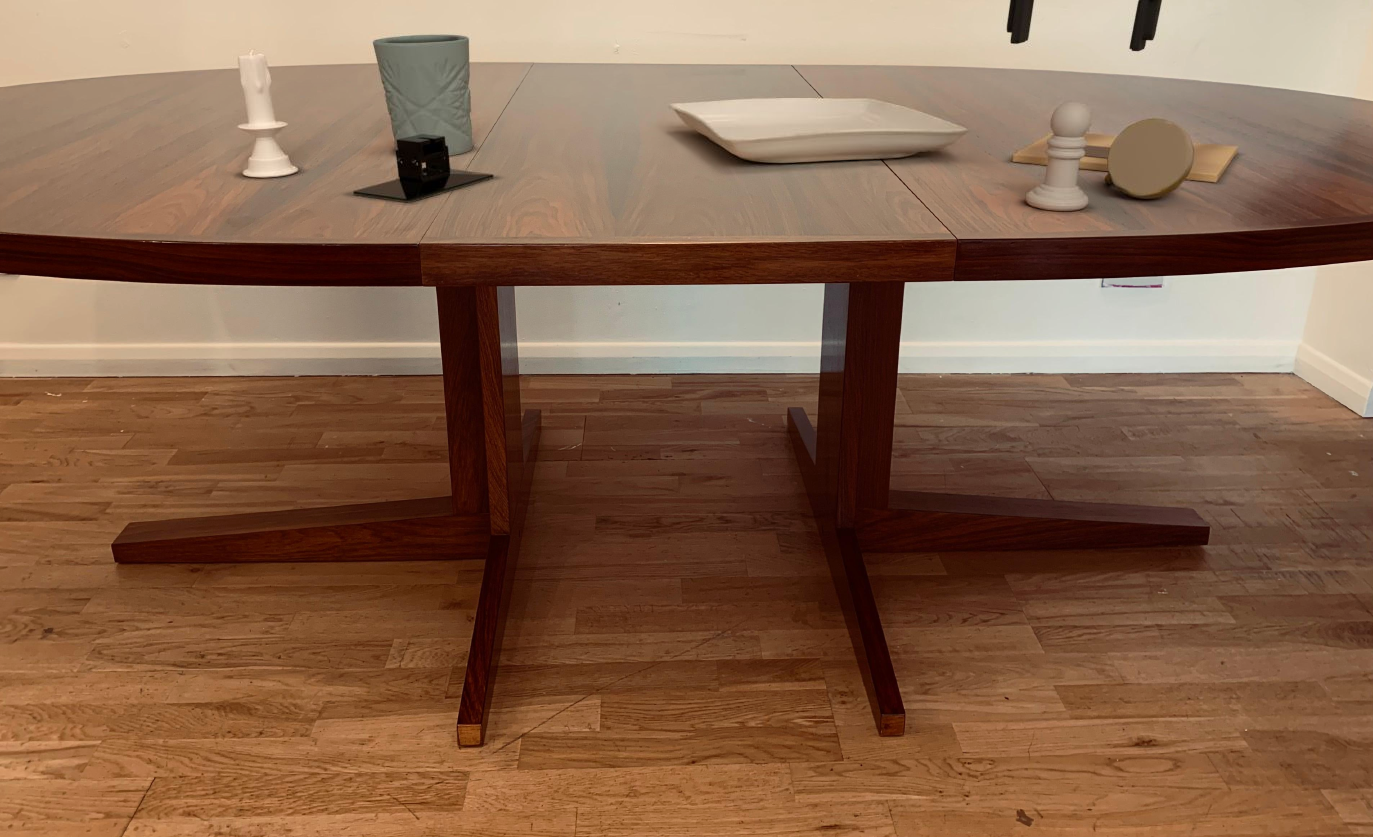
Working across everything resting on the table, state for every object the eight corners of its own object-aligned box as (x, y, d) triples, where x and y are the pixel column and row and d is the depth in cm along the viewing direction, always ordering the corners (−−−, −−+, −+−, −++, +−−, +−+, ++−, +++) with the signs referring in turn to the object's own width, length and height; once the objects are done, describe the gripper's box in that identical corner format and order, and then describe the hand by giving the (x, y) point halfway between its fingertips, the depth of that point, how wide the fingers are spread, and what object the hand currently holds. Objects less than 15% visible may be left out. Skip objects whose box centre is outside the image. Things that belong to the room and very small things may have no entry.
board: (1236, 153, 113) (1238, 145, 113) (1216, 182, 99) (1218, 173, 99) (1053, 137, 123) (1055, 129, 122) (1012, 161, 109) (1013, 153, 109)
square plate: (970, 162, 109) (974, 125, 107) (725, 174, 103) (725, 135, 101) (869, 123, 133) (872, 92, 131) (666, 131, 127) (666, 99, 125)
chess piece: (1096, 204, 91) (1114, 100, 87) (1072, 215, 87) (1090, 107, 84) (1040, 195, 94) (1055, 95, 90) (1014, 205, 91) (1029, 101, 87)
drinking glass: (496, 149, 116) (487, 37, 111) (423, 162, 109) (410, 43, 104) (441, 139, 122) (430, 32, 117) (368, 151, 115) (353, 38, 110)
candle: (300, 166, 107) (281, 45, 102) (295, 176, 102) (275, 50, 97) (247, 168, 106) (224, 47, 101) (239, 179, 101) (215, 52, 96)
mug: (1196, 187, 98) (1231, 102, 90) (1151, 248, 94) (1183, 165, 86) (1123, 159, 101) (1150, 75, 93) (1076, 217, 98) (1100, 134, 89)
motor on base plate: (409, 204, 92) (402, 152, 90) (350, 195, 95) (342, 145, 93) (494, 177, 102) (490, 130, 100) (438, 170, 105) (433, 124, 103)
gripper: (990, -190, 79) (961, 43, 86) (1234, -202, 71) (1180, 56, 78) (1017, -180, 85) (988, 37, 92) (1245, -190, 77) (1194, 49, 84)
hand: (1076, 46), depth 85 cm, fingers open, 9 cm apart
